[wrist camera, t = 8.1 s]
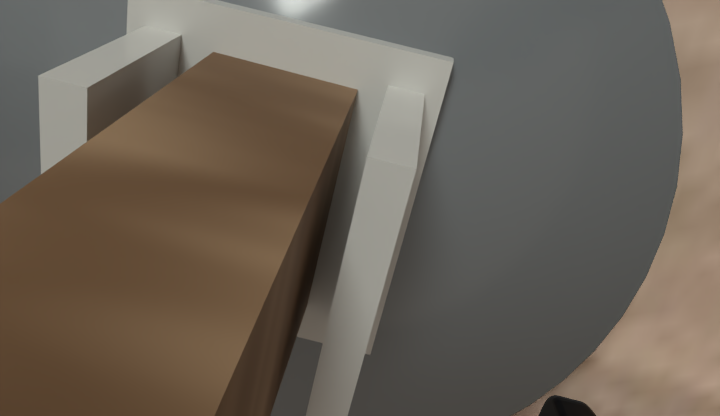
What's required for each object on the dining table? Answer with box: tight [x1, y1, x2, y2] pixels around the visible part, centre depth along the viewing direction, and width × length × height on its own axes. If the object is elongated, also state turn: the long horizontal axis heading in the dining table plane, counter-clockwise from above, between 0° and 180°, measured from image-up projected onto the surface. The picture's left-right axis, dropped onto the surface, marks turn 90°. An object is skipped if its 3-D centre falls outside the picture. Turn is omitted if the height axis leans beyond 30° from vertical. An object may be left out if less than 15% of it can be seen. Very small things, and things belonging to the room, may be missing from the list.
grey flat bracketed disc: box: [0, 0, 683, 416], centre depth 11 cm, size 14×14×4 cm
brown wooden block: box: [0, 52, 358, 416], centre depth 8 cm, size 2×4×8 cm, turn 167°
